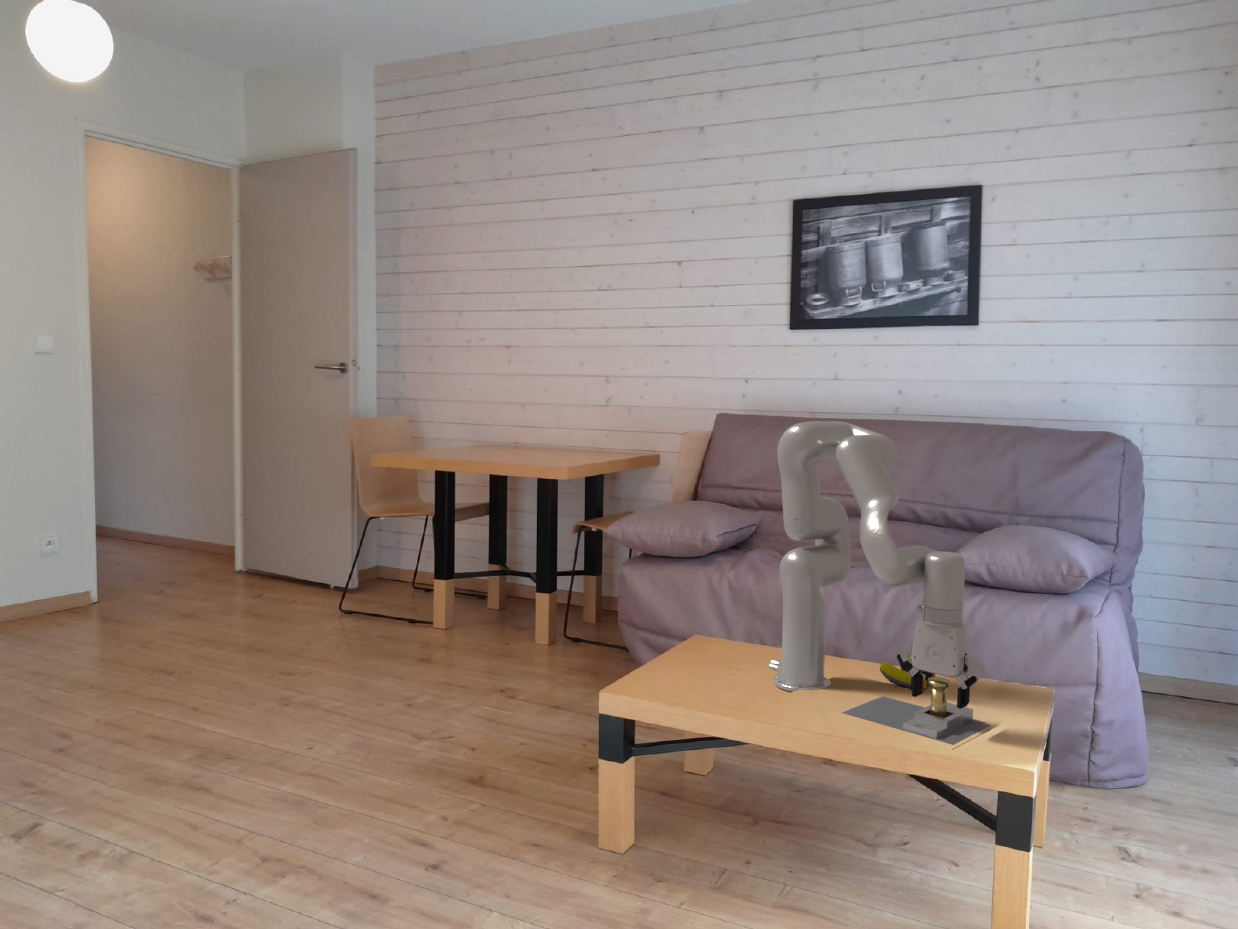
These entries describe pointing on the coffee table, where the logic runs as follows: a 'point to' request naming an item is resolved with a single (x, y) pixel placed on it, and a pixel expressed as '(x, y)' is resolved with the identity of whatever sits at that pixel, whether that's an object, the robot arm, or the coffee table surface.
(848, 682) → the coffee table surface
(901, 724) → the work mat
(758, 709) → the coffee table surface
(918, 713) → the grey slotted housing block
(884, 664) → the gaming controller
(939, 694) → the pin
